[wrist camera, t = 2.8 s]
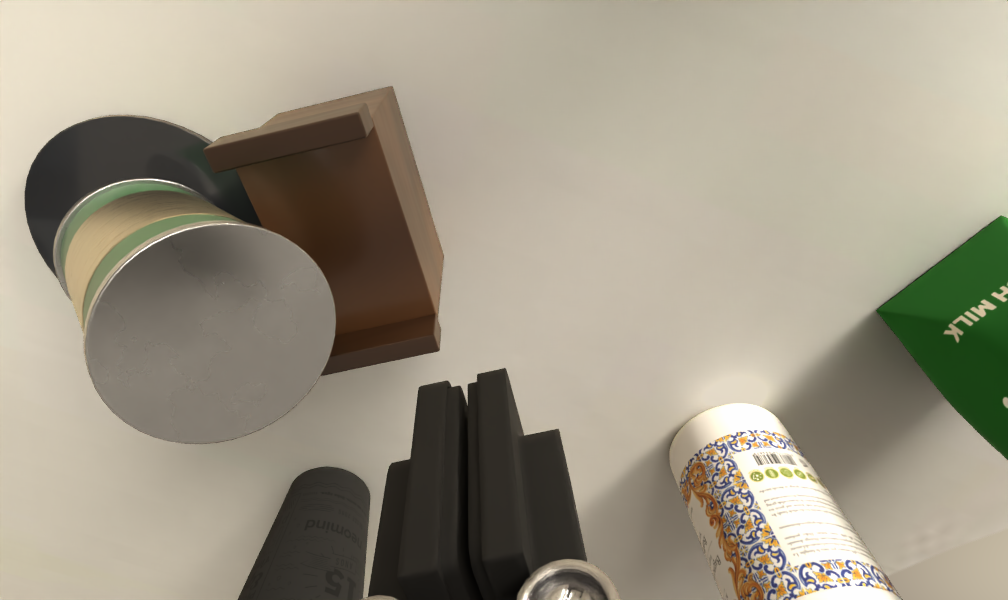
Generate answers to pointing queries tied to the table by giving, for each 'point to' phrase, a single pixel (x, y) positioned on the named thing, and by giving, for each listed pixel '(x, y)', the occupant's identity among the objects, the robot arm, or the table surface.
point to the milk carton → (963, 329)
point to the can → (191, 311)
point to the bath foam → (768, 513)
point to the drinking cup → (315, 541)
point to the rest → (350, 218)
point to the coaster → (121, 170)
